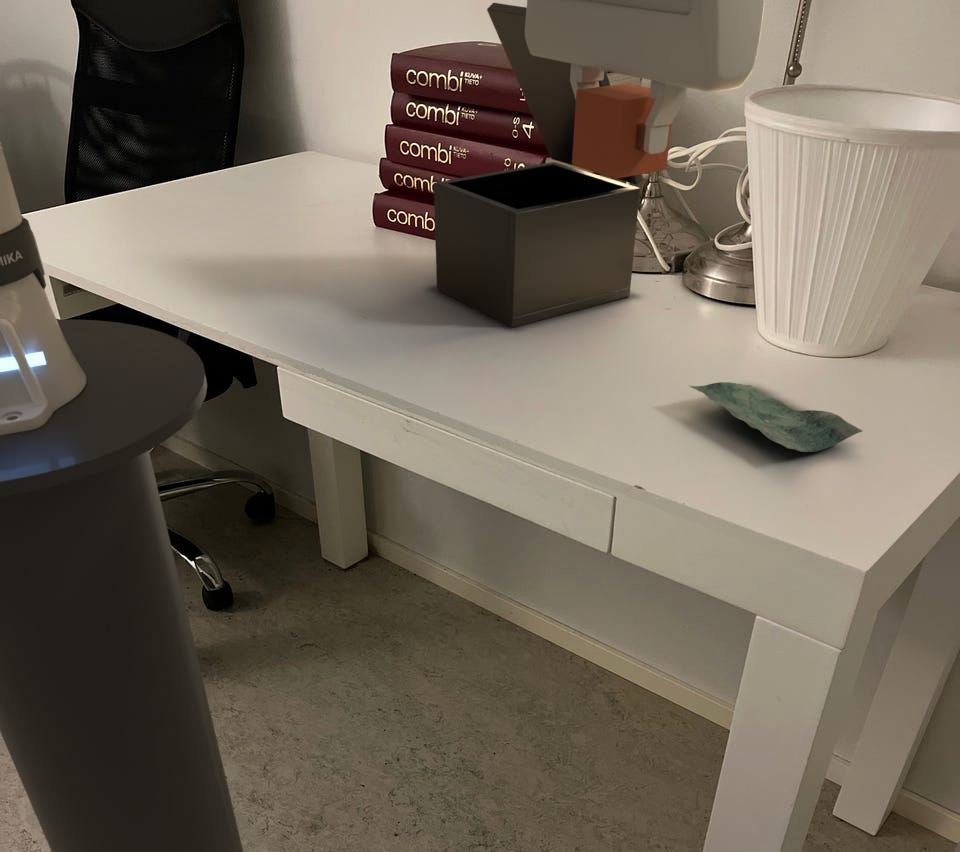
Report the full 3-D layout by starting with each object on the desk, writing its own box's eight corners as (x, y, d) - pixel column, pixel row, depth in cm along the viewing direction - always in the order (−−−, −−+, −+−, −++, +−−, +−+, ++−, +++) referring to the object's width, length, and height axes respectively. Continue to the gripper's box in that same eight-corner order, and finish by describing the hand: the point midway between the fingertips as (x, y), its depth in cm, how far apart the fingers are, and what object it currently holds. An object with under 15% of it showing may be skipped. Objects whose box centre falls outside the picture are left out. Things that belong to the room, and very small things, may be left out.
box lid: (579, 23, 85) (620, -18, 85) (486, 9, 94) (523, -28, 94) (637, 185, 98) (673, 149, 98) (551, 159, 107) (583, 126, 107)
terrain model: (682, 404, 83) (685, 383, 82) (750, 389, 86) (755, 369, 85) (785, 467, 74) (791, 445, 73) (857, 449, 78) (864, 427, 76)
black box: (512, 327, 98) (515, 213, 91) (436, 289, 107) (433, 182, 100) (629, 296, 105) (640, 187, 98) (549, 263, 114) (553, 161, 107)
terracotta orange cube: (615, 179, 69) (622, 100, 66) (571, 165, 72) (576, 89, 69) (666, 170, 71) (675, 93, 68) (621, 157, 74) (628, 83, 71)
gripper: (507, -97, 67) (502, 123, 76) (722, -88, 54) (687, 177, 63) (577, -98, 70) (565, 115, 79) (797, -89, 57) (753, 165, 66)
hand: (620, 143), depth 71 cm, fingers closed on terracotta orange cube, 5 cm apart
